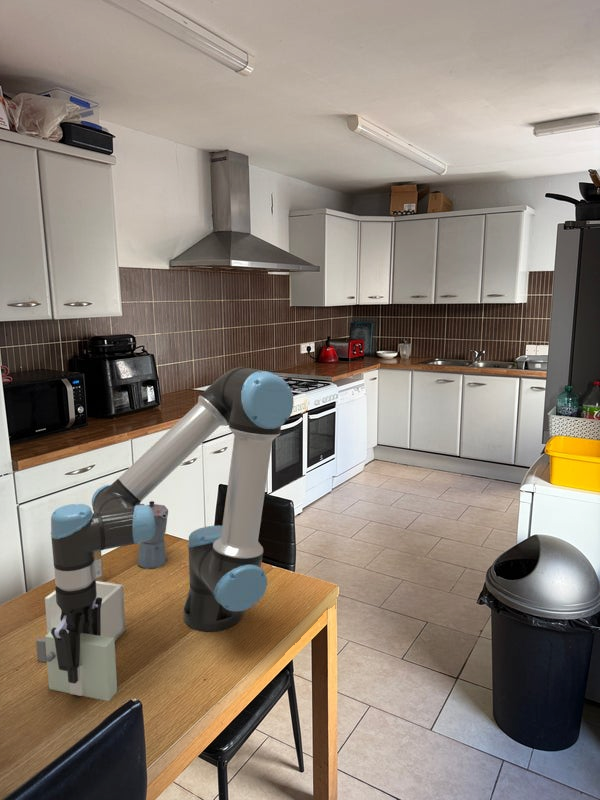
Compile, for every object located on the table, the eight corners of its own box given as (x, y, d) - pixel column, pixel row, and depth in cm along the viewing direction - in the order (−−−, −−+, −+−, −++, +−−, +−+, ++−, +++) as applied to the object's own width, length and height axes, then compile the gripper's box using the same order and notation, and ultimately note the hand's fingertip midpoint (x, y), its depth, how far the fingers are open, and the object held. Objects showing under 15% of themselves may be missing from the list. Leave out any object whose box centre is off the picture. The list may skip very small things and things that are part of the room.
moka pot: (157, 575, 163) (154, 510, 159) (121, 562, 171) (118, 500, 168) (180, 562, 171) (178, 500, 167) (145, 550, 179) (142, 491, 175)
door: (117, 691, 115) (114, 638, 113) (105, 705, 111) (102, 650, 109) (58, 679, 118) (54, 628, 116) (45, 692, 114) (40, 639, 112)
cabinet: (125, 630, 136) (123, 584, 134) (86, 670, 121) (83, 619, 119) (75, 622, 139) (72, 577, 137) (32, 659, 124) (27, 610, 122)
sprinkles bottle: (104, 581, 159) (102, 536, 157) (102, 589, 155) (100, 543, 153) (87, 582, 158) (84, 538, 156) (85, 590, 154) (82, 545, 152)
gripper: (84, 562, 119) (90, 660, 123) (31, 600, 104) (40, 711, 108) (115, 566, 117) (120, 666, 122) (65, 606, 102) (73, 718, 106)
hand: (82, 687), depth 115 cm, fingers closed on door, 3 cm apart
